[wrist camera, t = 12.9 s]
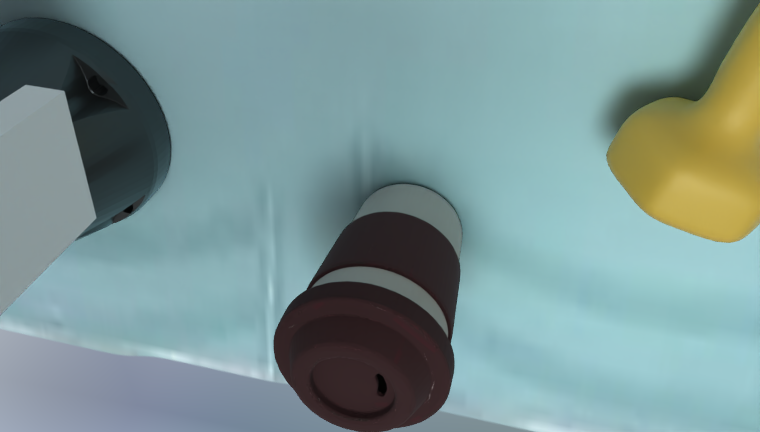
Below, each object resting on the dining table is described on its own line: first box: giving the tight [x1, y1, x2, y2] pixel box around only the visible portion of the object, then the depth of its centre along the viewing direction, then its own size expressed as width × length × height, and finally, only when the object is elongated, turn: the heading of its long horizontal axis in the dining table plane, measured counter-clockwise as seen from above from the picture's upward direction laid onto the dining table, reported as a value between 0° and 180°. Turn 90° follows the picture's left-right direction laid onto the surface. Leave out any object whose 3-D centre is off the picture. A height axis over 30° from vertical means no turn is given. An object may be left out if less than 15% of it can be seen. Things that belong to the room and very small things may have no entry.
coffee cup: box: [274, 184, 462, 432], centre depth 42 cm, size 10×10×15 cm
